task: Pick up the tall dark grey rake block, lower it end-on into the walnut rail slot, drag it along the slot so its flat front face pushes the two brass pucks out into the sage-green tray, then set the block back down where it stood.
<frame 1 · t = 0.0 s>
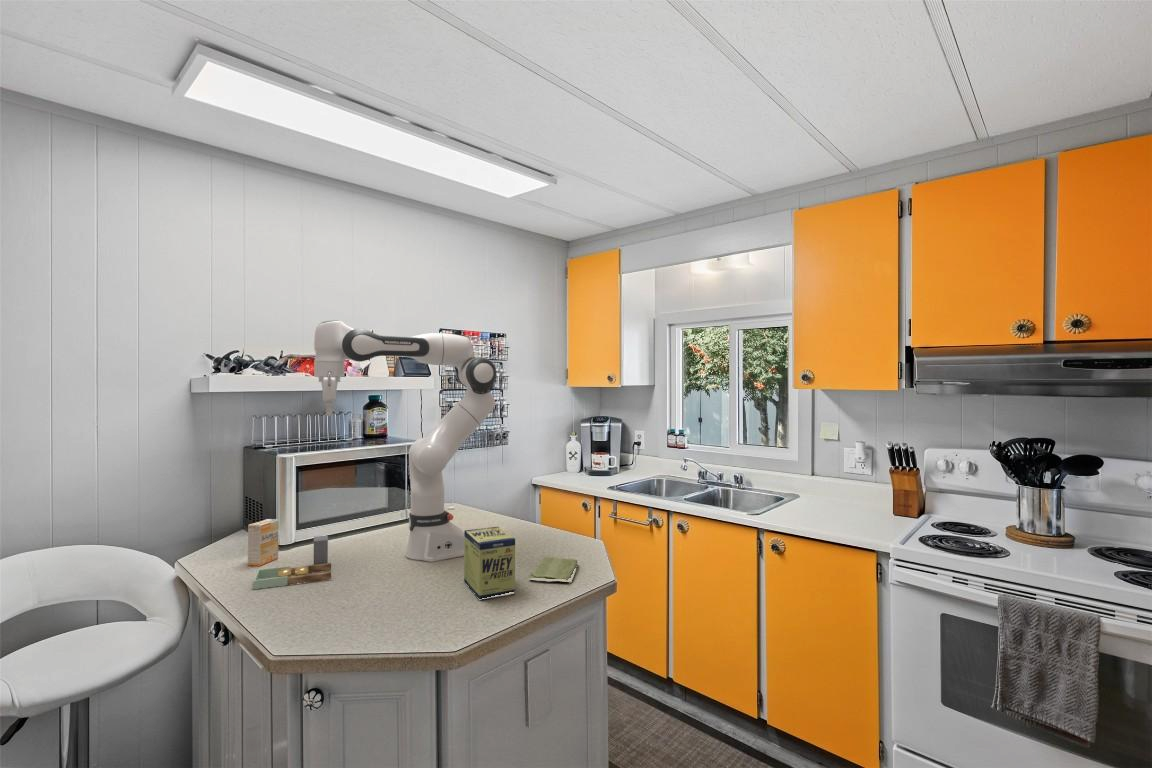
hand: (329, 414, 175), 48 cm above the worktop, tool pointing down, fingers open, 8 cm apart
chip tray: (273, 581, 161), on the worktop
rake block: (320, 566, 175), on the worktop
puck a: (301, 578, 164), on the worktop
supplement box: (263, 562, 179), on the worktop
slot rails: (310, 576, 165), on the worktop
washcloth: (555, 575, 170), on the worktop
puck b: (284, 580, 163), on the worktop
protein box: (488, 589, 157), on the worktop
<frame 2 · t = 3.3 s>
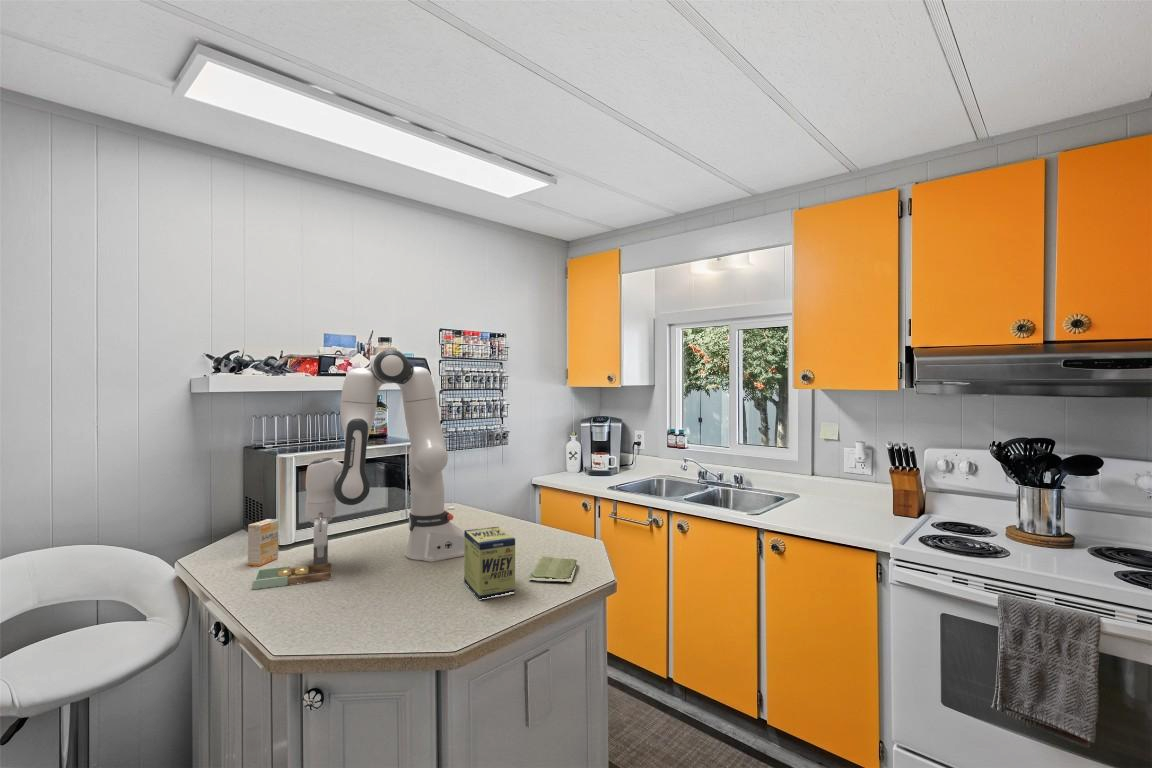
hand: (320, 553, 175), 4 cm above the worktop, tool pointing down, fingers closed on rake block, 5 cm apart
rake block: (320, 566, 175), on the worktop, touching gripper
everything else where it was.
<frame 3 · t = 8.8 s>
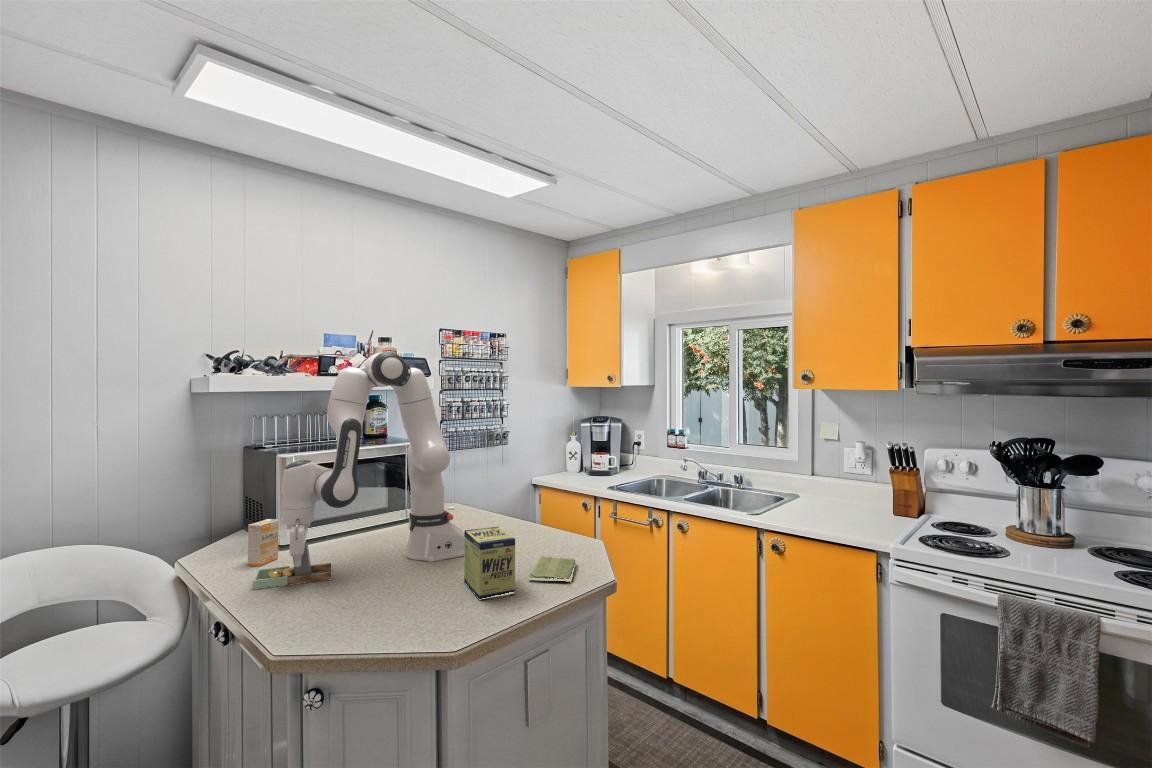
hand: (298, 562, 164), 5 cm above the worktop, tool pointing down, fingers closed on rake block, 5 cm apart
rake block: (303, 575, 165), point 1 cm above the worktop, tilted 7°, touching gripper, puck a
puck a: (288, 579, 163), on the worktop, touching rake block
puck b: (275, 581, 162), on the worktop
everything else where it was.
when the fingers open (5 cm above the worktop, at t = 13.1 s): rake block drops 1 cm, on the worktop.
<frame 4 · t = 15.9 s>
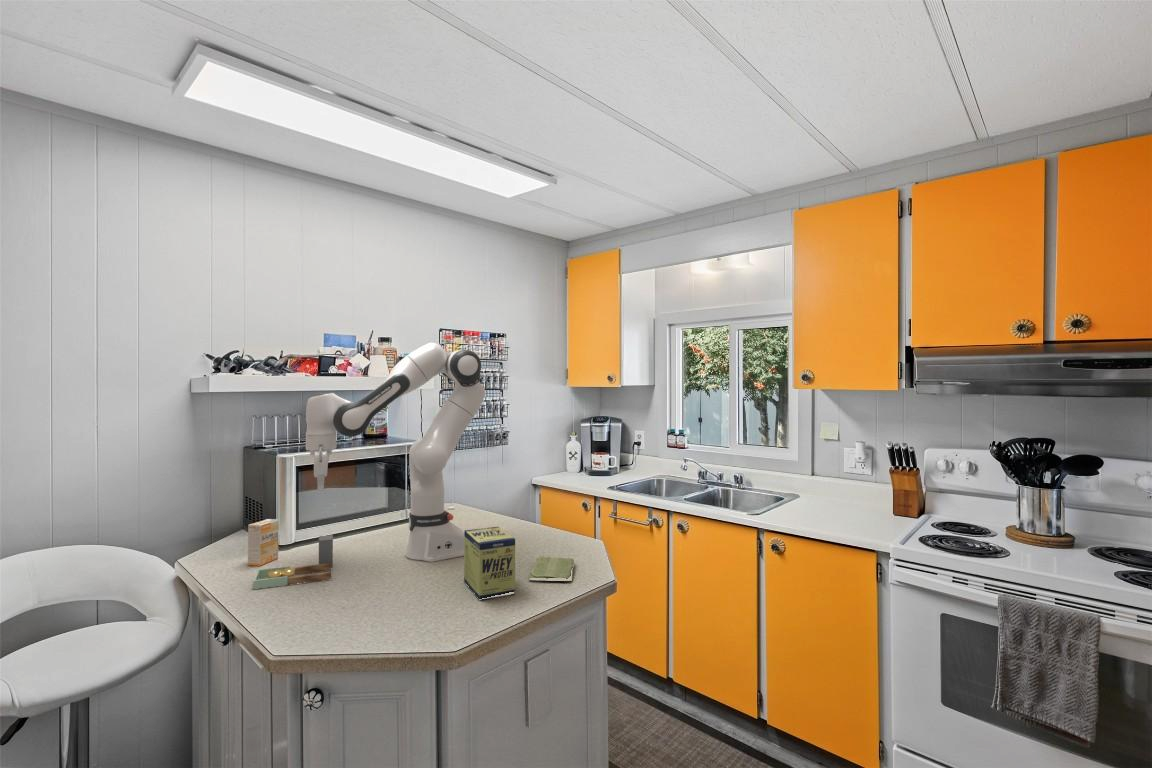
hand: (321, 487, 175), 25 cm above the worktop, tool pointing down, fingers open, 8 cm apart
rake block: (325, 566, 175), on the worktop
puck a: (288, 579, 163), on the worktop
everything else where it was.
at the end: puck a inside the target area (4.5 cm from its centre), on the worktop; puck b inside the target area (1.0 cm from its centre), on the worktop; the gripper is holding nothing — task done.
